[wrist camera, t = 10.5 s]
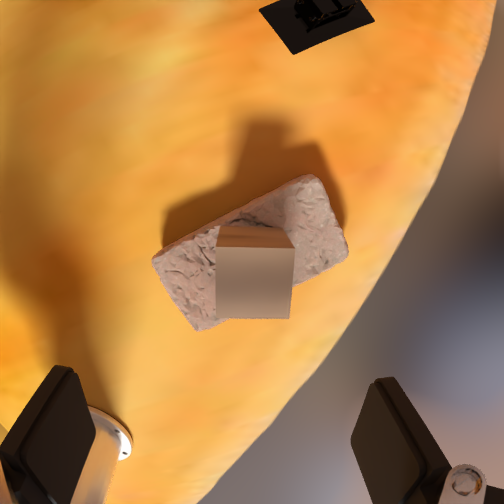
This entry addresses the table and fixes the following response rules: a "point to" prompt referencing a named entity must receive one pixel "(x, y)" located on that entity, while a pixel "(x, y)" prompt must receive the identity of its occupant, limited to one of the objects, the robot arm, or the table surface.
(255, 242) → the brown wooden block
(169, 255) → the brick
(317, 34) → the black piece
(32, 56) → the table surface
